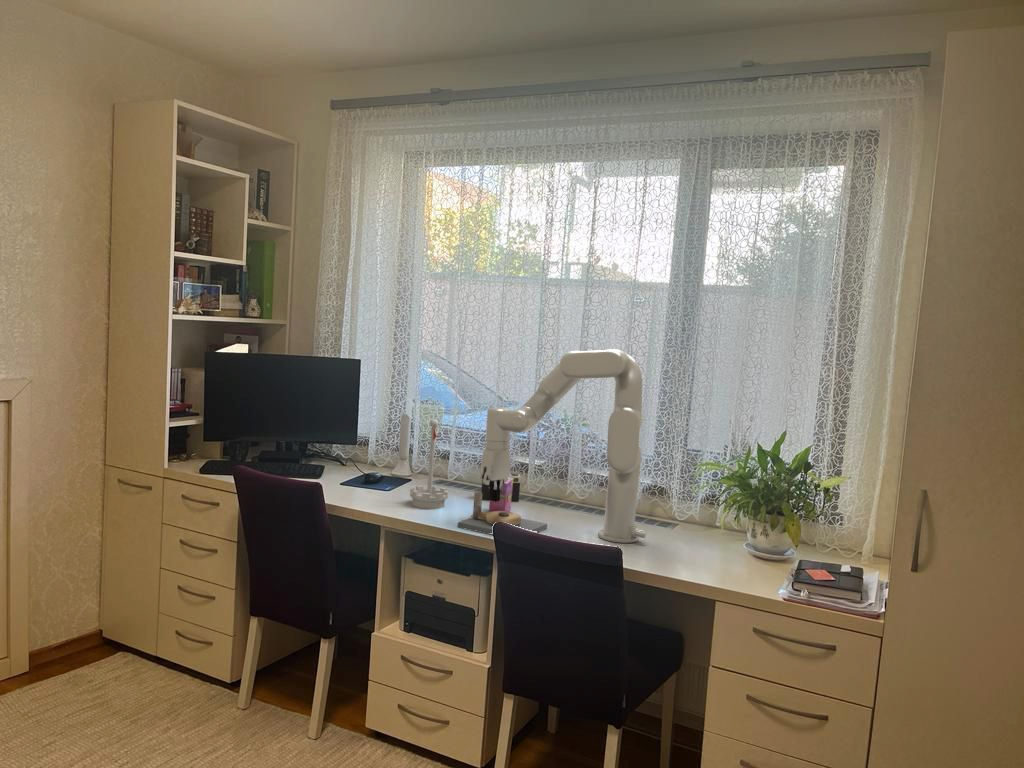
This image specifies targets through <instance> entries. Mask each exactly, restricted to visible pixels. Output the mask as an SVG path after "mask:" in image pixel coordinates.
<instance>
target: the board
mask: <svg viewBox="0 0 1024 768" xmlns="http://www.w3.org/2000/svg"><path fill="white" fill-rule="evenodd" d="M484 512H485V513H488V512H489V510H487V511H484ZM520 516H521V523H520V524H519V525H517V526H518V527H521V528H524V529H528V530H532V531H537V532H538V533H540V532H542V531H544V530H547V529H548V523H547V522H546V523H545V522H541V521H537V520H531V519H528V518H527V519H526V518H523V515H520ZM492 526H493V524H490V523H488V522H486V520H484V519H476V518H473V514H472V515H470V517H469V518H466V519H463V520H460V521H458V522H457V528H460V527H461V528H460V529H464V528H466V529H465V530H469V529H471V530H470V531H473V530H477V531H476V532H478V531H481V532H480V533H482V532H485V533H484V534H487V533H492Z"/></svg>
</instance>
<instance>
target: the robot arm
mask: <svg viewBox="0 0 1024 768" xmlns="http://www.w3.org/2000/svg"><path fill="white" fill-rule="evenodd" d="M642 376H643V375H642V371H641V368H640V366H639V364H638V363H637V361H636V360H635V359H634V357H633V356H631V355H630V354H628V353H627V352H625V351H623V350H621V349H617V348H610V349H604V350H602V349H601V350H570V351H567V352H566V353H564V354H563V355H562V357H561V358H560V361H559V363H558V364H557V365H556V366H555V367H554V368H553V369H552V370H551V371H550V372H549V373H548V374H547V375H546V376H545V377H544V378H542V380H541V381H540V382H539V385H538V388H537V390H536V391H535V392H534V394H532V396H531V397H530V398H529V399H528V400H526V402H525V403H524V404H523V405H522V406H521V407H520V408H518V409H513V410H512V409H509V408H506V407H500V406H499V407H498V406H495V407H494V406H493V407H489V408H488V410H487V416H486V437H485V448H484V449H483V452H482V456H481V460H480V461H481V463H480V471H479V477H480V479H481V480H482V479H483V484H485V485H488V486H489V488H490V500H491V501H495V502H497V501H500V489H502V485H503V484H504V483H505V482H507V481H508V478H509V476H510V474H511V453H510V449H509V448H510V446H509V445H510V444H511V442H510V432H512V433H517V434H521V433H522V434H523V433H525V432H526V431H528V430H530V429H533V427H534V426H536V425H537V424H538V423H539V422H540V420H542V419H543V417H545V416H546V415H547V414H548V412H550V410H552V408H553V407H555V405H557V404H558V403H559V402H560V401H561V399H563V398H564V396H566V395H567V394H568V392H570V390H571V389H572V388H574V386H576V385H577V384H578V383H579V381H580V380H582V379H602V378H603V379H607V378H608V379H609V378H614V381H615V382H614V384H615V388H614V406H613V411H612V413H611V414H610V415H609V418H608V423H607V424H608V425H607V441H606V442H607V444H606V461H607V464H608V466H609V467H608V468H609V471H608V477H607V486H606V487H607V488H606V490H607V491H606V498H605V499H606V500H605V508H604V509H605V510H604V520H603V521H604V522H603V529H600V530H598V534H597V535H598V537H599V538H601V539H603V540H605V541H609V542H613V543H626V544H627V543H629V544H630V543H635V542H638V540H639V538H641V539H646V538H647V532H646V530H642V529H639V528H638V524H635V523H636V522H635V521H636V513H637V511H636V509H637V501H638V500H637V499H638V490H639V481H640V473H641V470H640V469H641V463H642V450H641V447H640V429H641V426H642V423H643V417H642V416H643V413H642V412H643V410H642V408H643V377H642ZM490 500H489V501H490Z"/></svg>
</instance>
